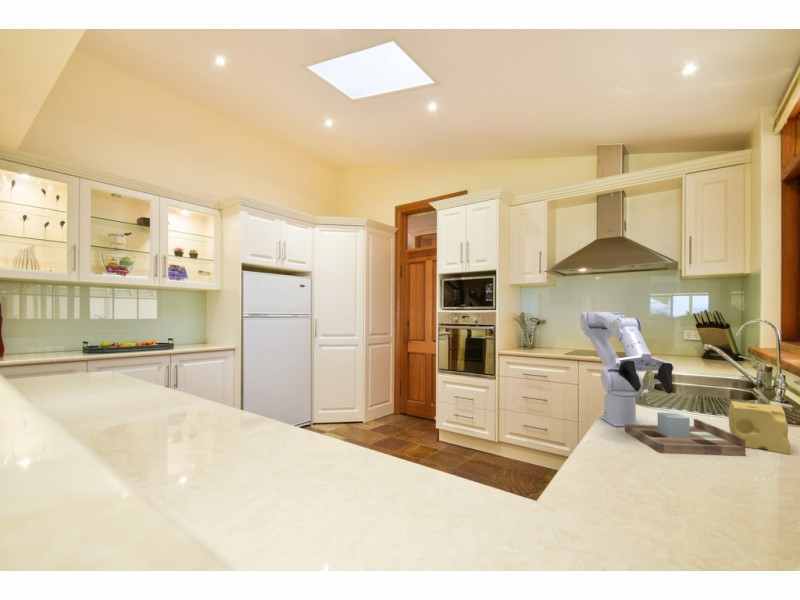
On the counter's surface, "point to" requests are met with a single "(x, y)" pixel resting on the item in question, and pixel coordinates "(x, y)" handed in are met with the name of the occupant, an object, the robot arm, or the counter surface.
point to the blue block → (674, 425)
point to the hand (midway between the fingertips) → (654, 390)
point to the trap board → (690, 440)
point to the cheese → (760, 426)
